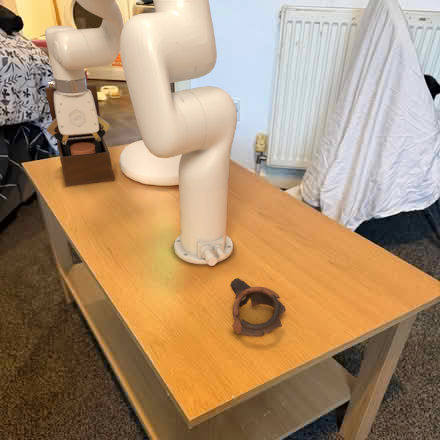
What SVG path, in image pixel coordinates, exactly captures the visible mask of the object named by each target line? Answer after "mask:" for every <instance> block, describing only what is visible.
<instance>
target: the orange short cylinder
mask: <svg viewBox="0 0 440 440" xmlns="http://www.w3.org/2000/svg"><path fill="white" fill-rule="evenodd" d="M69 148H70V153H71V156H72V155H82V154H92V153H96V148H95V145H94V144H92V143H88V142H80V143H75V144H72V145H71V146H70V147H69Z"/></svg>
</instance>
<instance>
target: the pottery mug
mask: <svg viewBox="0 0 440 440" xmlns="http://www.w3.org/2000/svg"><path fill="white" fill-rule="evenodd" d="M230 289H231V290H232V292H233V294H235V297H234V298H235V300H234V303H233V307H232V317H233V324H232V325H231V326H232V329H233V330H234V332H235V333H236V334H237V335H242V336H245V337H256V338H257V337H264V336H265V334H266V335H268V334H271V333H272V332H273V331H274V330H277V329H278V328H282V322H281V321H282V320H281V319H280V316H281V315H283V314H284V312H286V306H285V305H284V304H283V303H282V302H281V301H280V300H279V299H281V297H280V295H279V294H278V293H277V292H275V291H274V290H272V289H270V288H268V287H264V286H250V285H249V284H247V282H245V280H243V279H240V278H239V277H237V278H236V277H235V278H234V279H233V280H231V282H230ZM249 300H250V302H251V306H252V307H255V306H258V305H265V306H269V307H271V308H272V309H274V310H273V314H272V315H271V317H270V318H269V319H268V320H267V321H265V322H261V323H251V322H248V321H247V320H244V318H240V314H241V313H240V308H242V307H243V306H245V305H247V304H248V302H249Z"/></svg>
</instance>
